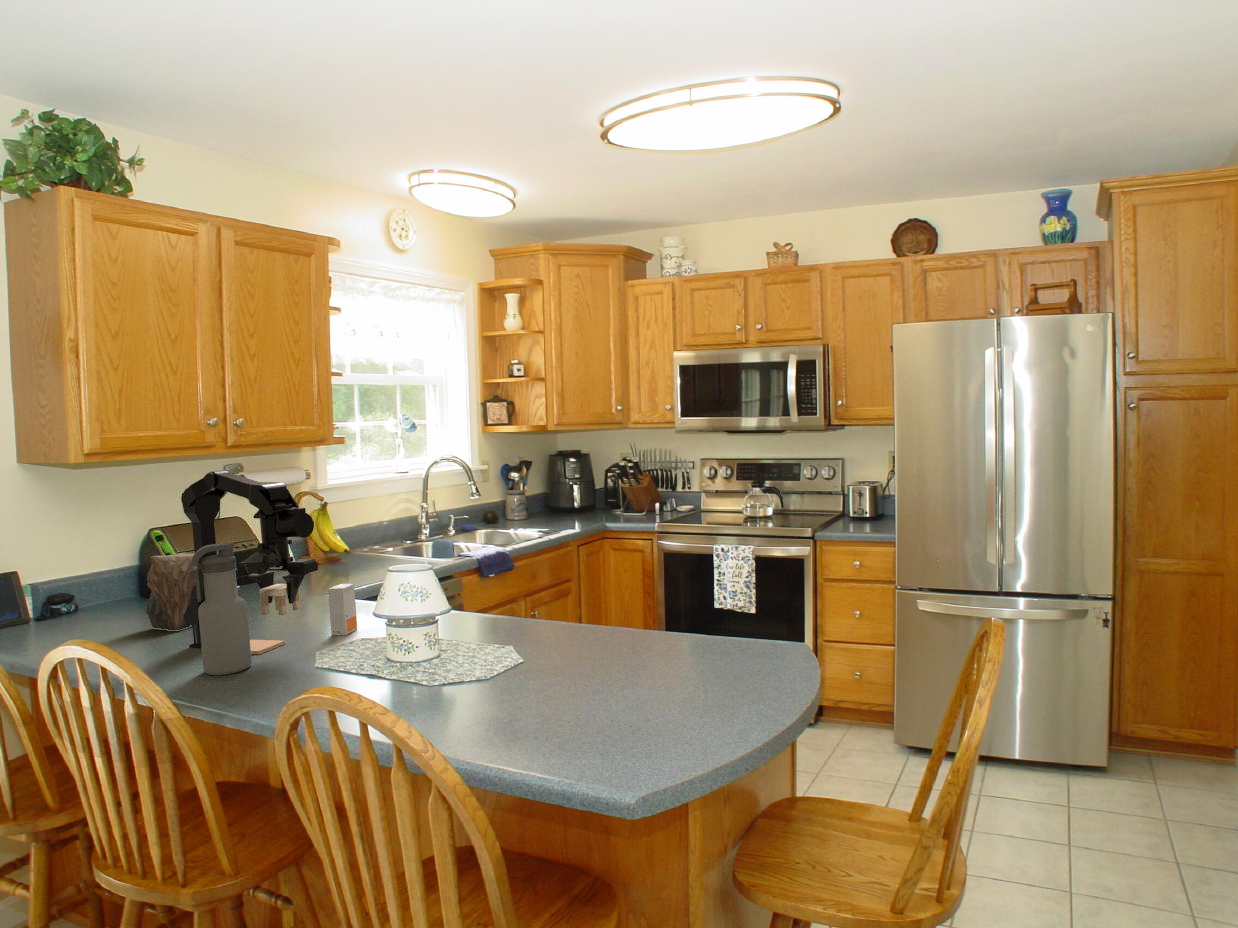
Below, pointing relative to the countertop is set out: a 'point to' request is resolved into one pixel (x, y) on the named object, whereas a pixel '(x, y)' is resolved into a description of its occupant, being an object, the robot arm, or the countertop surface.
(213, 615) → the water bottle
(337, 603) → the skincare box
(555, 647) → the countertop surface
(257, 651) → the trivet
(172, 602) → the tree stump
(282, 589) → the birch stool
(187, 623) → the robot arm
